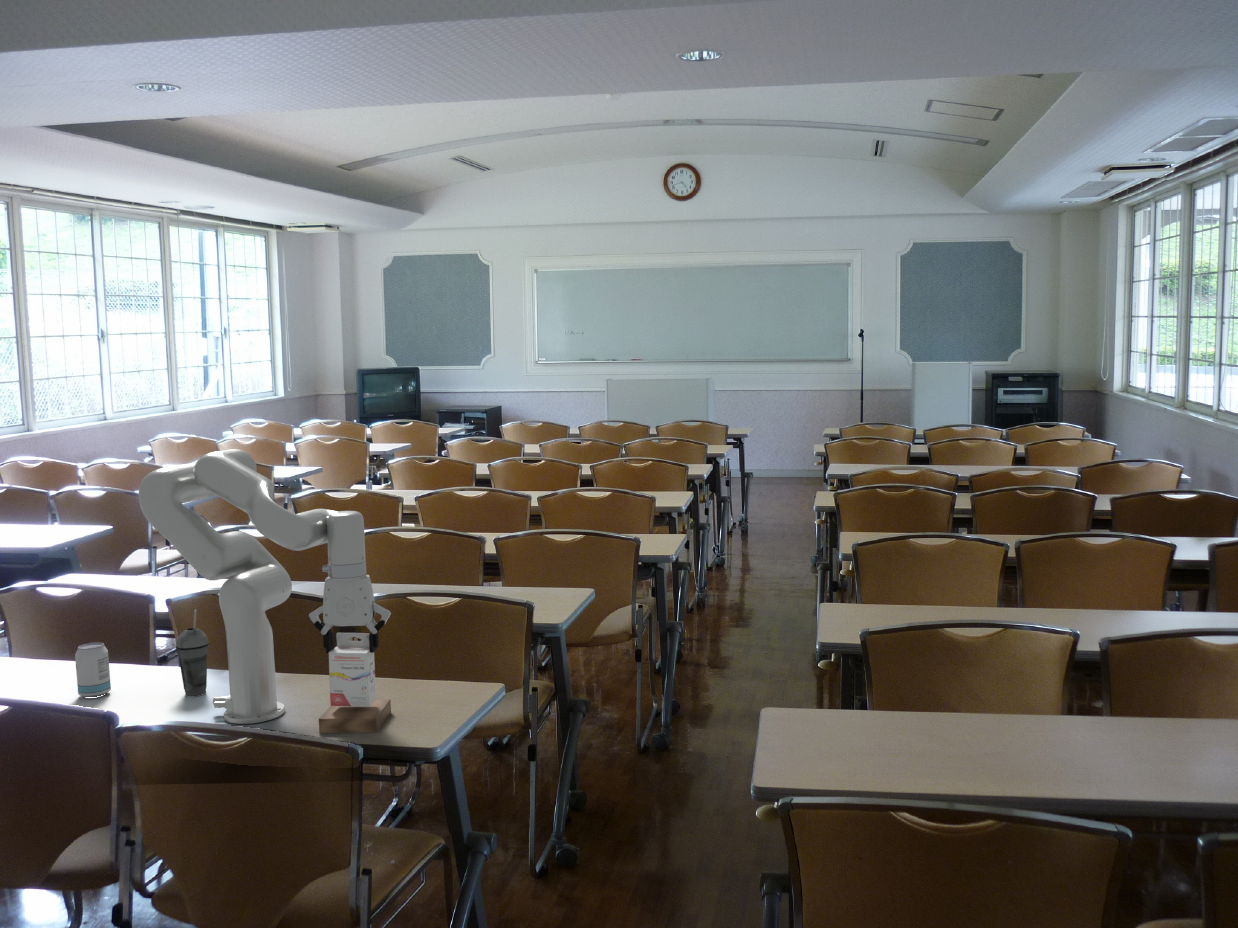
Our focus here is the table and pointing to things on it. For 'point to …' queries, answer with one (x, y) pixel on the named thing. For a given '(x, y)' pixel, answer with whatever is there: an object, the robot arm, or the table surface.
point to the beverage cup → (193, 659)
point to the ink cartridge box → (352, 671)
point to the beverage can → (92, 670)
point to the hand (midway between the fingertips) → (351, 650)
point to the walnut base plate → (355, 718)
